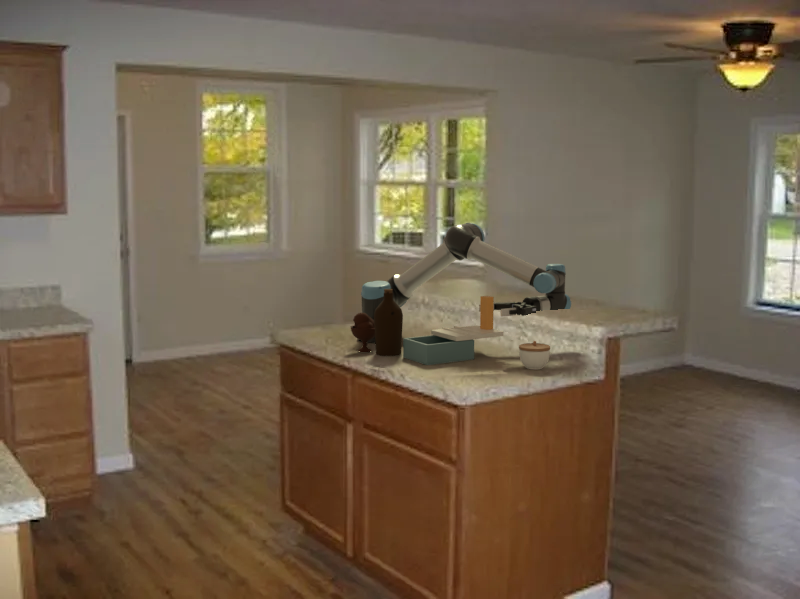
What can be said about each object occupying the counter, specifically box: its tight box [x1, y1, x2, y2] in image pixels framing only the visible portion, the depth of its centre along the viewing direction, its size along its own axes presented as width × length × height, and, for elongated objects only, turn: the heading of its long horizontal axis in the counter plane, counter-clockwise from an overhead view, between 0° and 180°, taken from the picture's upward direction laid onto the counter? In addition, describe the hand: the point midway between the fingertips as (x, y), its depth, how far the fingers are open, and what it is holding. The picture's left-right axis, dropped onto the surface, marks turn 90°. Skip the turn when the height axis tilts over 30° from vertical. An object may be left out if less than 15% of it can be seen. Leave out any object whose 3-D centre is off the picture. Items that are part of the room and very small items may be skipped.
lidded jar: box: [518, 340, 551, 371], centre depth 310 cm, size 11×11×9 cm
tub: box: [402, 334, 475, 366], centre depth 323 cm, size 16×20×8 cm
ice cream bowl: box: [350, 312, 375, 353], centre depth 341 cm, size 11×11×15 cm
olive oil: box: [374, 289, 404, 357], centre depth 330 cm, size 11×11×25 cm
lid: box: [430, 295, 505, 341], centre depth 327 cm, size 17×21×14 cm
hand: (490, 310), depth 332 cm, fingers open, 13 cm apart
